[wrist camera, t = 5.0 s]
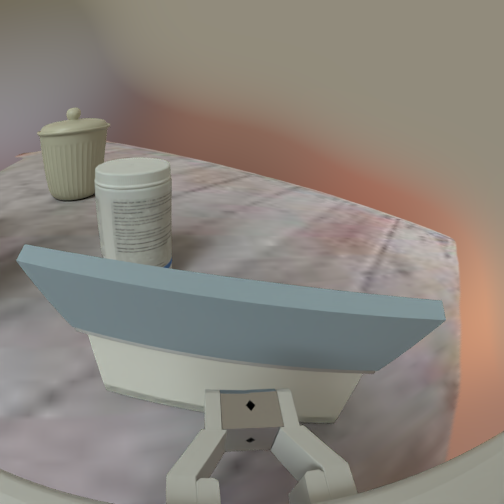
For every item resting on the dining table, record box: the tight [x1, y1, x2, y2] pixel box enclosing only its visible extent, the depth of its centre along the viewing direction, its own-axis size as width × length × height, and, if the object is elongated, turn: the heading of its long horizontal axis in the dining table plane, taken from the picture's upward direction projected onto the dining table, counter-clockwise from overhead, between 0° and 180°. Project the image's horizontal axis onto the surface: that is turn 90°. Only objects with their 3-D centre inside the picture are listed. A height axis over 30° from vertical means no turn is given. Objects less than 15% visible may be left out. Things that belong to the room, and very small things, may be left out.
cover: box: [16, 244, 446, 374], centre depth 15 cm, size 20×9×1 cm
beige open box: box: [88, 334, 362, 423], centre depth 24 cm, size 20×7×8 cm, turn 87°
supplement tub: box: [94, 158, 172, 269], centre depth 37 cm, size 10×10×15 cm
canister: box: [37, 108, 110, 200], centre depth 60 cm, size 18×18×21 cm
